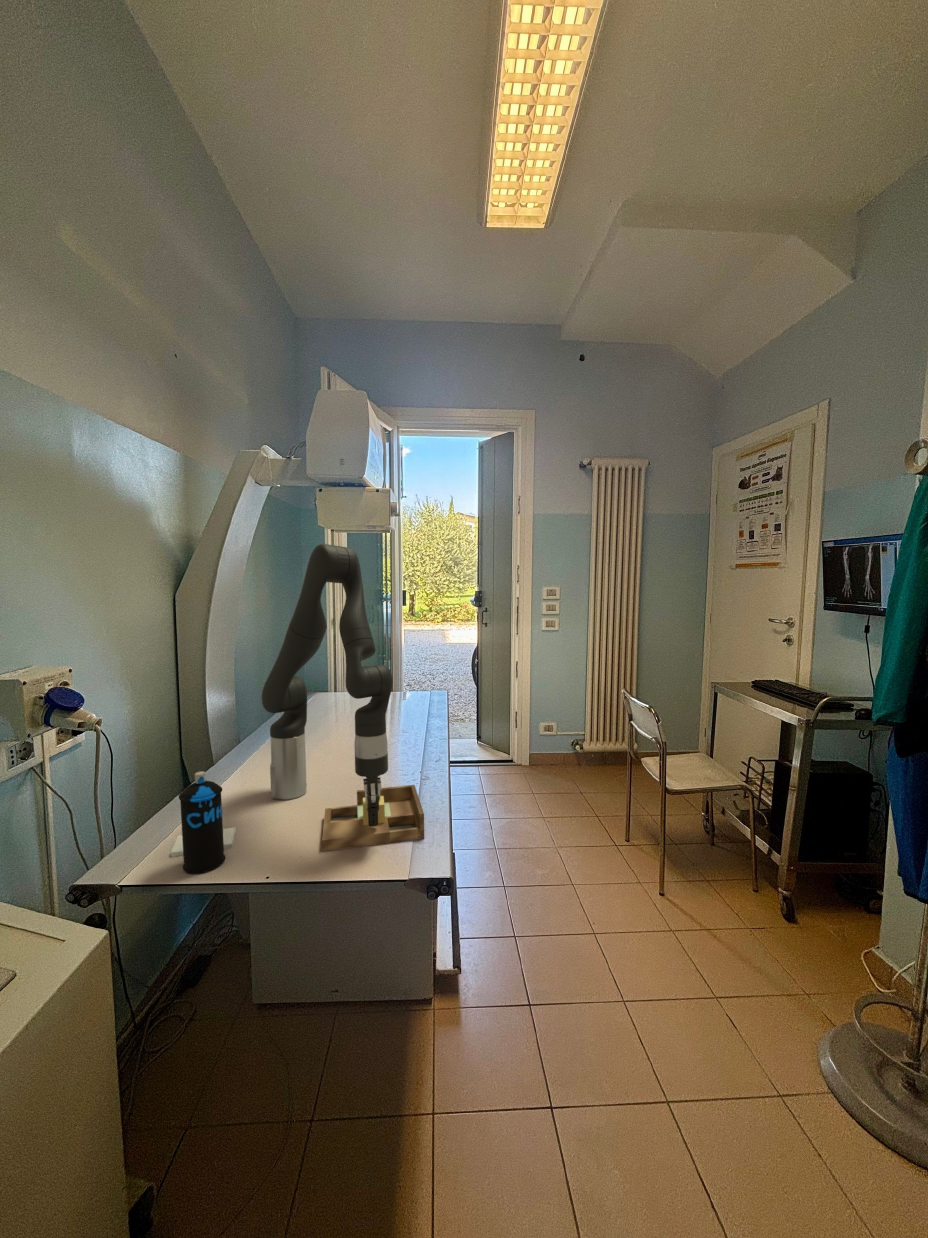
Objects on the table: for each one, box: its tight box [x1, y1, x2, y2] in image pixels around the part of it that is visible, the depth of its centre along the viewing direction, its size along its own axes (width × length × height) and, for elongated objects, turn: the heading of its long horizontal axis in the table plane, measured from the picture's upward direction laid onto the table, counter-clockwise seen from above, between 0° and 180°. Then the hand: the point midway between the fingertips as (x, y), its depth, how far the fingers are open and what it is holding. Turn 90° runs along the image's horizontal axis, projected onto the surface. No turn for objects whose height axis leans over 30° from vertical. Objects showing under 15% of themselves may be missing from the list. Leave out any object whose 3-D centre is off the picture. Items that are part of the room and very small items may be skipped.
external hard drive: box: [170, 827, 237, 858], centre depth 116 cm, size 2×8×12 cm
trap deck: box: [321, 784, 425, 852], centre depth 123 cm, size 23×17×6 cm
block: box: [363, 796, 385, 825], centre depth 122 cm, size 5×5×4 cm
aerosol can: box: [178, 770, 227, 875], centre depth 107 cm, size 8×8×20 cm
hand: (373, 824), depth 117 cm, fingers closed
